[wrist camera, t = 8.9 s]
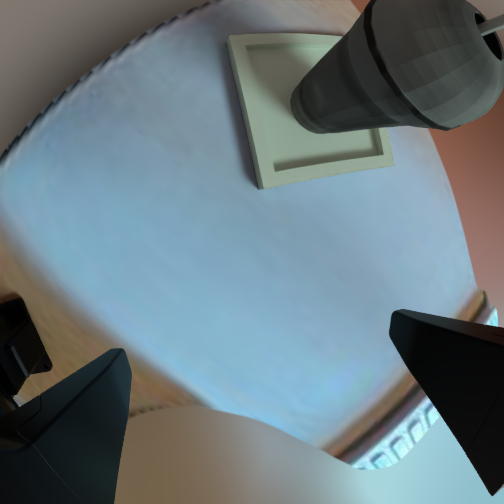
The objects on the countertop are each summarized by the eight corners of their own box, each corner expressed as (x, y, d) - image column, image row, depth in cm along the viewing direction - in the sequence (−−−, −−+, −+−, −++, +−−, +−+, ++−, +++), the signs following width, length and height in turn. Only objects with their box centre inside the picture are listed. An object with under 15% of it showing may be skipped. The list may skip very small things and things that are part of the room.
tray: (258, 189, 21) (263, 189, 20) (225, 43, 18) (229, 35, 17) (384, 166, 23) (394, 165, 22) (354, 44, 20) (361, 39, 19)
